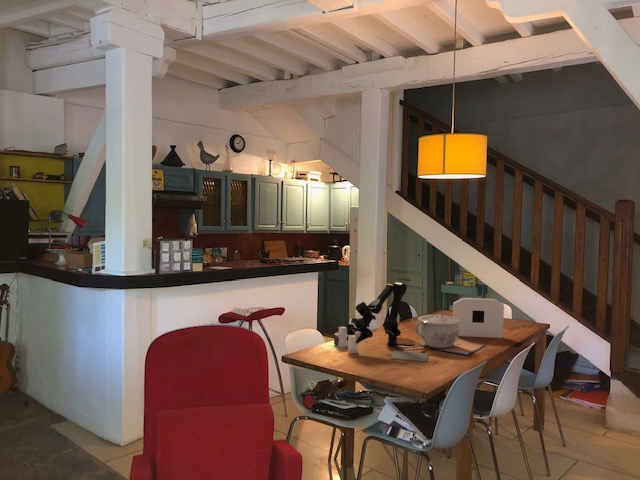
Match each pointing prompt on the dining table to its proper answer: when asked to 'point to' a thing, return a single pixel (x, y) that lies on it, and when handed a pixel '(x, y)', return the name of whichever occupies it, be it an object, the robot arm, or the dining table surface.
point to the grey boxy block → (479, 317)
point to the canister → (352, 344)
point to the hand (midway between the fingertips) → (351, 341)
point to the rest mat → (409, 356)
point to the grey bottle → (341, 337)
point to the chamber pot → (438, 330)
